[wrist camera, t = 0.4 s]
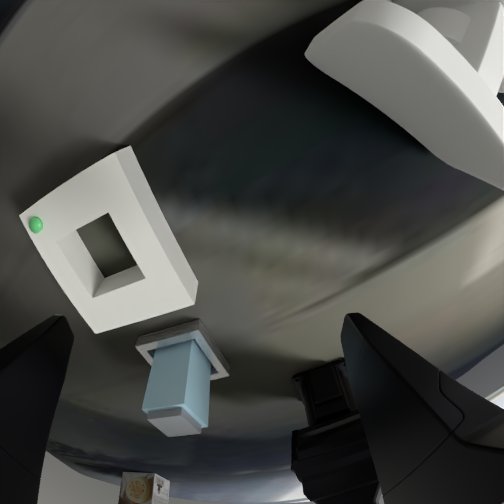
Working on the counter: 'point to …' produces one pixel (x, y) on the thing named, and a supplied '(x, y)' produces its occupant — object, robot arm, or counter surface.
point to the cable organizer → (427, 73)
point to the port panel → (133, 233)
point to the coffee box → (143, 489)
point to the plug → (178, 389)
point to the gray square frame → (183, 333)
